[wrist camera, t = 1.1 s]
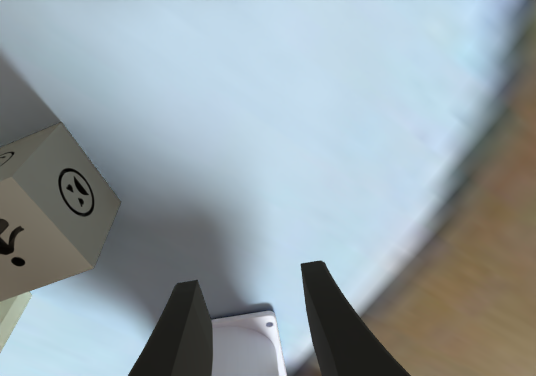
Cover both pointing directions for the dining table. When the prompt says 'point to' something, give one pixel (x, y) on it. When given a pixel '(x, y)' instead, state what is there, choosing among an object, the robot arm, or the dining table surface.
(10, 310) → the bin
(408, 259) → the dining table surface
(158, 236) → the dining table surface
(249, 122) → the dining table surface
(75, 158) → the beige symbol cube
